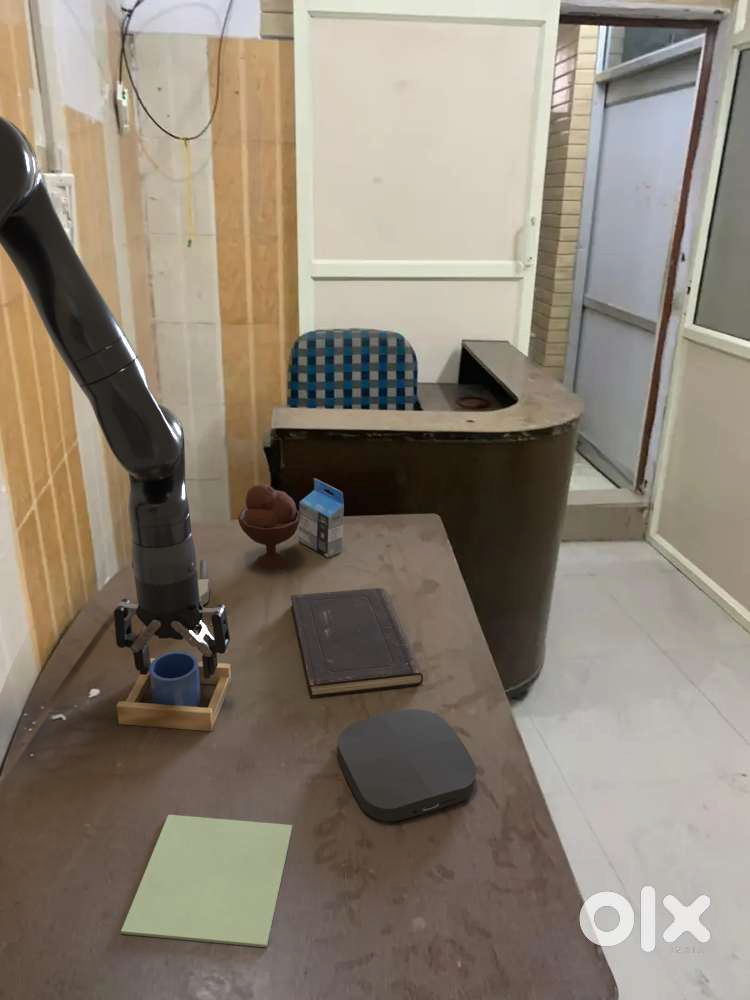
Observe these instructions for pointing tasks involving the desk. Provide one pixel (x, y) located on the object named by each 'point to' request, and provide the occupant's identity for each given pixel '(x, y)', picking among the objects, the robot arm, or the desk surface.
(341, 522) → the label tape box
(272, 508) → the ice cream bowl
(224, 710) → the desk surface
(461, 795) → the media streaming box
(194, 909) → the mat
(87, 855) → the desk surface
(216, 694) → the tray
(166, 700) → the small cup
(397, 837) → the desk surface
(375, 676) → the hardcover book
